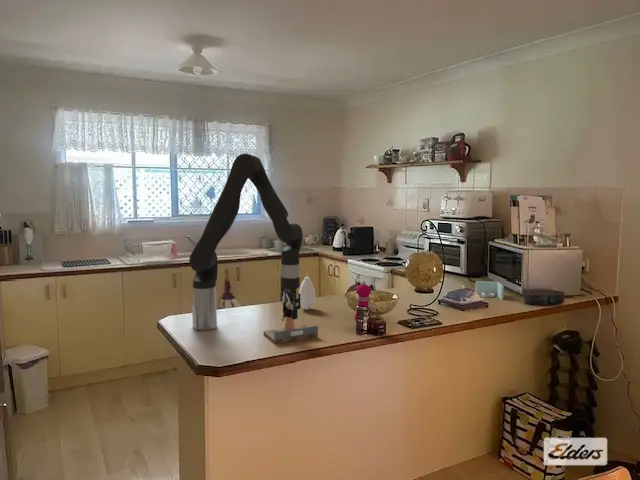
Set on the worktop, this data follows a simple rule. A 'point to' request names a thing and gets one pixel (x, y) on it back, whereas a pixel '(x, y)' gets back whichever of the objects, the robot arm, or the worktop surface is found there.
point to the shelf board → (270, 336)
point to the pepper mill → (363, 296)
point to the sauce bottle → (307, 294)
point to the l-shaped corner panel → (489, 289)
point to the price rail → (295, 332)
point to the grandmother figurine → (288, 318)
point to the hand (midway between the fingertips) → (290, 316)
